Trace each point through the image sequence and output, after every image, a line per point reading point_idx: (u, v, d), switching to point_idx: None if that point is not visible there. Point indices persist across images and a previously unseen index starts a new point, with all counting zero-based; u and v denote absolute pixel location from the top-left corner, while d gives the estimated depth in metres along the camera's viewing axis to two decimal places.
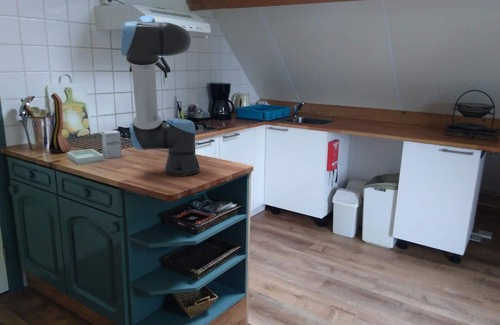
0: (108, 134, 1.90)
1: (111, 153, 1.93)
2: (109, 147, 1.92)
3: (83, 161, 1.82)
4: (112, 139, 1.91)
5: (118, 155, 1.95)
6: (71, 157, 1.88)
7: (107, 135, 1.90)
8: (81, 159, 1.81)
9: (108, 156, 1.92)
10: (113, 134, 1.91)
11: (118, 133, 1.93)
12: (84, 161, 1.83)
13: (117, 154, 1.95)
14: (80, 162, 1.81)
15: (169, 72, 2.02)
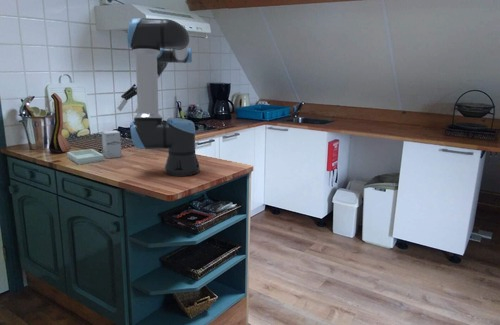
0: (108, 134, 1.90)
1: (111, 153, 1.93)
2: (109, 147, 1.92)
3: (83, 161, 1.82)
4: (112, 139, 1.91)
5: (118, 155, 1.95)
6: (71, 157, 1.88)
7: (107, 135, 1.90)
8: (81, 159, 1.81)
9: (108, 156, 1.92)
10: (113, 134, 1.91)
11: (118, 133, 1.93)
12: (84, 161, 1.83)
13: (117, 154, 1.95)
14: (80, 162, 1.81)
15: None
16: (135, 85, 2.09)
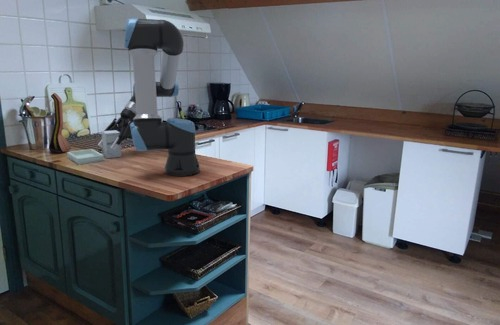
0: (108, 134, 1.90)
1: (111, 153, 1.93)
2: (109, 147, 1.92)
3: (83, 161, 1.82)
4: (112, 138, 1.91)
5: (118, 155, 1.95)
6: (71, 157, 1.88)
7: (107, 135, 1.90)
8: (81, 159, 1.81)
9: (108, 156, 1.92)
10: (113, 134, 1.91)
11: (118, 133, 1.93)
12: (84, 161, 1.83)
13: (117, 154, 1.95)
14: (80, 162, 1.81)
15: (122, 136, 1.91)
16: (116, 119, 2.02)
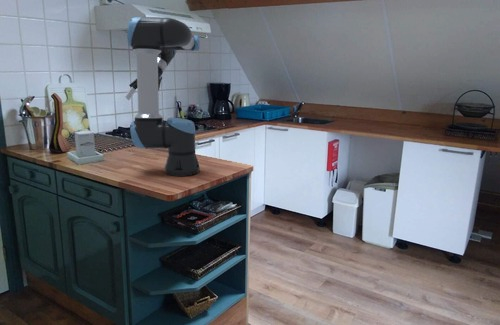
0: (81, 135, 1.83)
1: (85, 154, 1.86)
2: (82, 149, 1.85)
3: (83, 161, 1.82)
4: (85, 139, 1.85)
5: None
6: (71, 157, 1.88)
7: (80, 136, 1.83)
8: (81, 159, 1.81)
9: (81, 157, 1.86)
10: (86, 135, 1.85)
11: (92, 133, 1.86)
12: (84, 161, 1.83)
13: (91, 155, 1.88)
14: (80, 162, 1.81)
15: None
16: None
